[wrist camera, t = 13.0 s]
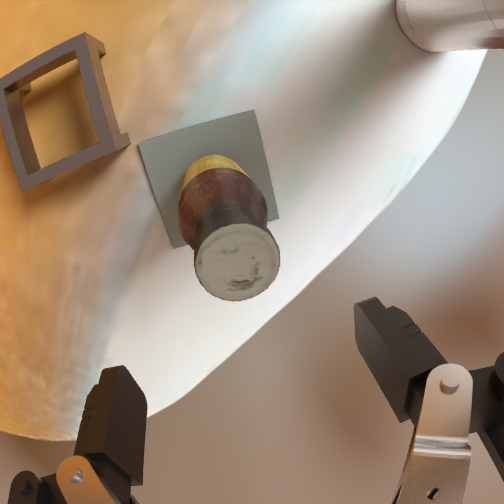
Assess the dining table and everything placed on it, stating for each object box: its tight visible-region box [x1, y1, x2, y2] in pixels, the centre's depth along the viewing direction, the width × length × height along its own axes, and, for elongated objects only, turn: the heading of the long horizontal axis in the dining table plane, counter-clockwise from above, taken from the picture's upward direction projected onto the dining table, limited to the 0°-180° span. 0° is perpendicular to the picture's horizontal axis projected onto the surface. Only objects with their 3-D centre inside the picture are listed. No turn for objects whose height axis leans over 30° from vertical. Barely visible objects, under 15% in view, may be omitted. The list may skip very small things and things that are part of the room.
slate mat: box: [138, 110, 279, 248], centre depth 33 cm, size 12×12×1 cm
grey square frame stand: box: [0, 32, 130, 192], centre depth 25 cm, size 10×11×6 cm
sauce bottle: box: [178, 154, 280, 301], centre depth 24 cm, size 7×6×20 cm
